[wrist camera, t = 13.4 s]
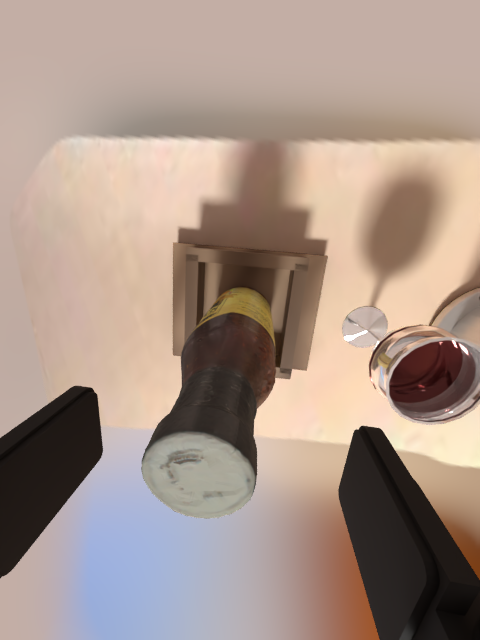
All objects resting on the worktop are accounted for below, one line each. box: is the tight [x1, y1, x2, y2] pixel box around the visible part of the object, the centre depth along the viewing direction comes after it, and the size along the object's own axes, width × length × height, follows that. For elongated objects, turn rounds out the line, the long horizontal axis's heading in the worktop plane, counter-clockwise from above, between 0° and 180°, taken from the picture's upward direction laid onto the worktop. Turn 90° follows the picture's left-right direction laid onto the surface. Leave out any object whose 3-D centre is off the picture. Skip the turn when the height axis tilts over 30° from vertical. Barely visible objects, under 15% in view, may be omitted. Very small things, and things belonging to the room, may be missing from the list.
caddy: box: [173, 243, 327, 379], centre depth 26 cm, size 16×13×4 cm
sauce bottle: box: [141, 286, 276, 518], centre depth 17 cm, size 7×6×20 cm
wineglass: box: [342, 306, 480, 425], centre depth 22 cm, size 7×7×12 cm
